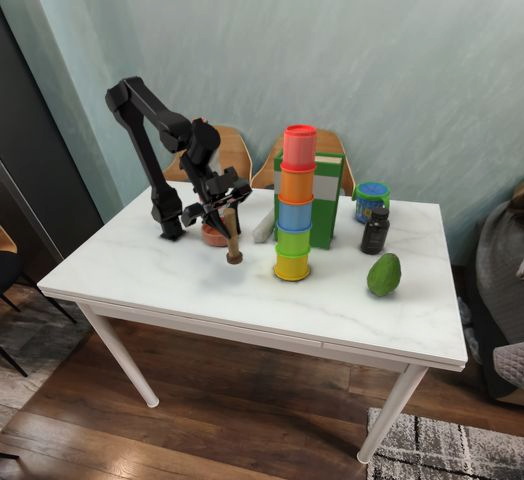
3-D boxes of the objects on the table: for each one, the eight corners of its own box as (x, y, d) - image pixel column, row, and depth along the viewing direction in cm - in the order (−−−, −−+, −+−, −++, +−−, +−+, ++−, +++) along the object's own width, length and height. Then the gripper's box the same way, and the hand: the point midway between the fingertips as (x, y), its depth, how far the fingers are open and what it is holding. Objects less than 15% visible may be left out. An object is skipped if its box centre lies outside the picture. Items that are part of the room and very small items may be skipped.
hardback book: (333, 237, 99) (345, 154, 81) (328, 249, 95) (340, 164, 76) (281, 229, 103) (282, 148, 85) (274, 240, 99) (273, 158, 81)
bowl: (196, 241, 101) (193, 230, 98) (217, 224, 107) (215, 213, 104) (226, 251, 97) (225, 239, 93) (246, 232, 103) (245, 221, 100)
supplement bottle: (386, 247, 94) (398, 209, 85) (375, 257, 91) (386, 219, 82) (367, 240, 97) (376, 202, 88) (355, 249, 94) (363, 211, 85)
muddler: (224, 262, 81) (216, 213, 71) (230, 253, 84) (224, 205, 73) (239, 266, 80) (233, 216, 70) (245, 256, 83) (241, 207, 72)
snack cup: (393, 225, 102) (402, 194, 94) (366, 233, 100) (374, 202, 92) (365, 205, 111) (372, 176, 103) (340, 212, 109) (345, 182, 101)
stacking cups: (268, 266, 91) (264, 127, 64) (299, 257, 93) (307, 119, 66) (283, 286, 85) (286, 141, 58) (315, 275, 87) (332, 132, 60)
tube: (266, 235, 94) (295, 199, 108) (251, 227, 94) (282, 192, 108) (262, 248, 99) (291, 212, 112) (247, 240, 99) (278, 205, 112)
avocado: (375, 306, 78) (388, 266, 69) (357, 288, 83) (367, 249, 74) (400, 296, 80) (417, 257, 71) (382, 279, 85) (394, 240, 75)
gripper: (174, 169, 62) (215, 239, 65) (245, 144, 69) (278, 209, 72) (165, 195, 71) (201, 256, 75) (227, 171, 79) (257, 227, 82)
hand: (235, 236), depth 76 cm, fingers closed on muddler, 3 cm apart
